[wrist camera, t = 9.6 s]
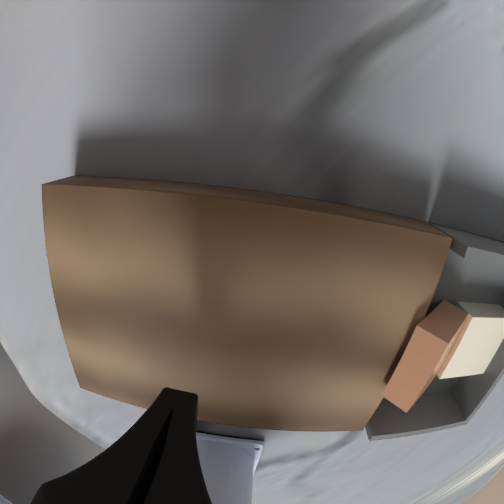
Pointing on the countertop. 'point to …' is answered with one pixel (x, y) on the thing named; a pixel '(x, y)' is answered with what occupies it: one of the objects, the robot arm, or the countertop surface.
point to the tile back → (475, 340)
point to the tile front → (425, 354)
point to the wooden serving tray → (236, 297)
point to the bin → (458, 388)
